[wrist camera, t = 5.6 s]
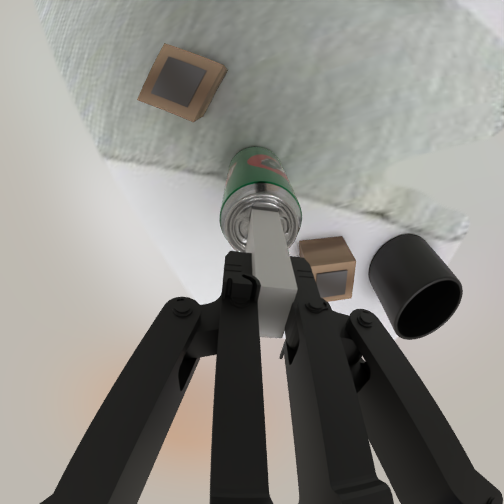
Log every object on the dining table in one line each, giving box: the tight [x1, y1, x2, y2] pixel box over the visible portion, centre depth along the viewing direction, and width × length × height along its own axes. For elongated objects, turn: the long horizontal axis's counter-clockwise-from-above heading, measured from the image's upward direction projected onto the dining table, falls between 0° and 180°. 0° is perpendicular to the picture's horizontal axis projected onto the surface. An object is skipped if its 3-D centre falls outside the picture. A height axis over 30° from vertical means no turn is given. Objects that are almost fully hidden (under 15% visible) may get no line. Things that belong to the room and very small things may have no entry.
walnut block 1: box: [137, 43, 228, 122], centre depth 19 cm, size 5×5×5 cm
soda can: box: [220, 147, 302, 252], centre depth 21 cm, size 5×5×12 cm
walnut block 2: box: [299, 236, 356, 302], centre depth 30 cm, size 5×5×5 cm
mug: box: [369, 235, 463, 340], centre depth 30 cm, size 9×12×9 cm
